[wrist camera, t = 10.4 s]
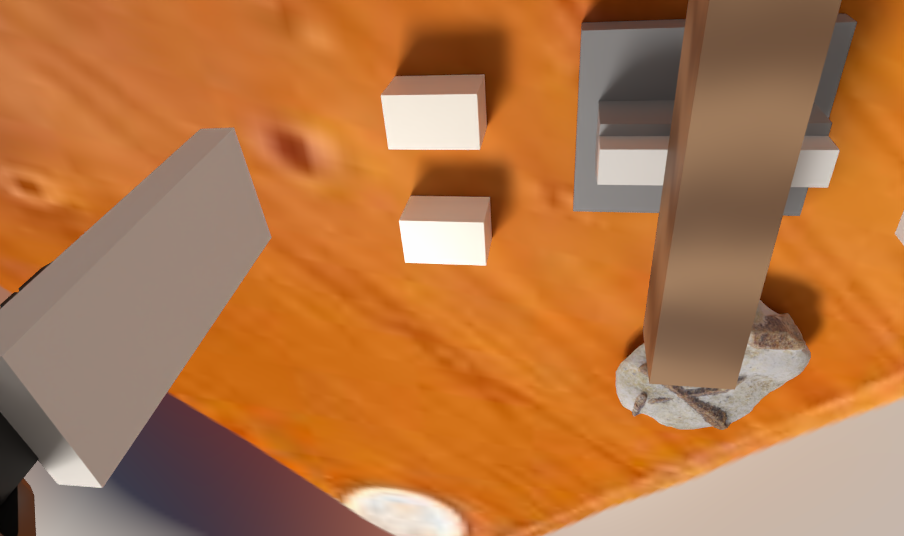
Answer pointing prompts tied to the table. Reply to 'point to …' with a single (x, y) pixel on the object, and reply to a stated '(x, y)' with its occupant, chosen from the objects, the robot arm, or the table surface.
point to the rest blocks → (441, 128)
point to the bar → (728, 178)
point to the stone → (763, 370)
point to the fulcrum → (666, 115)
